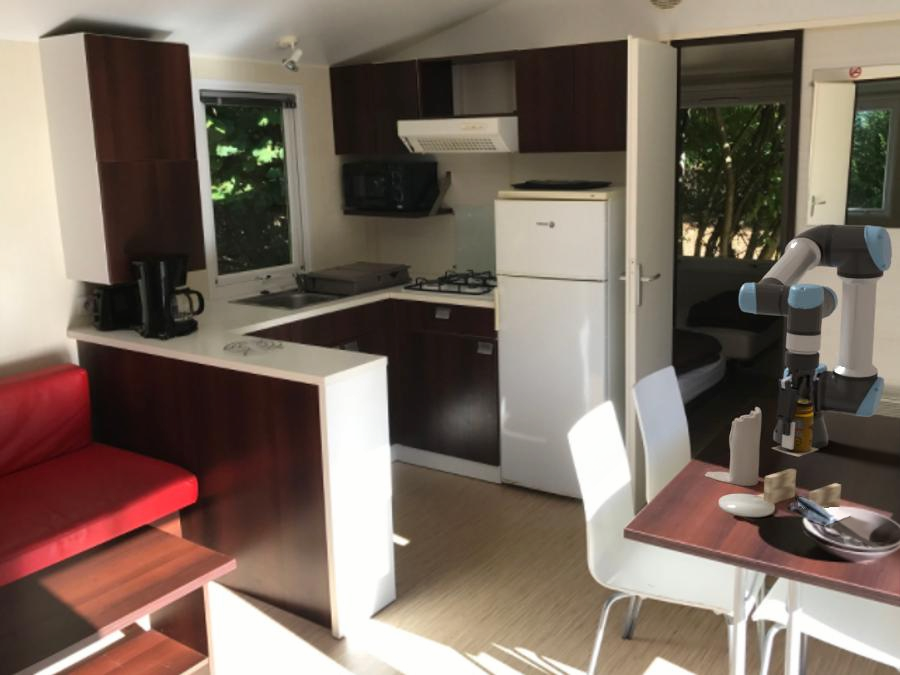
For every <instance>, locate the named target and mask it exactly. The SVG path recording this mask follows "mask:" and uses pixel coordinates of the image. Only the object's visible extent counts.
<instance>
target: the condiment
mask: <svg viewBox="0 0 900 675" xmlns="http://www.w3.org/2000/svg"><path fill="white" fill-rule="evenodd" d="M812 406H813V402H812V401H811V400H808V399H803V398H799V399H798V403H797V407H796V411H795V415H794V418H793V422H795V434H794V449H792V450H791V449H788V448H784V447H782V445H781V444H778V445H777V446H774V447H771V449H773V450H774V451H778V452H780V453H783V454H786V455H791V456H795V457H798V458H799V457H801V456H804V455H806V454H811V453H813V452H816V451H819V448H813V447H812V432H813V418H814V414H813V412H812V410H813V407H812Z"/></svg>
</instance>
